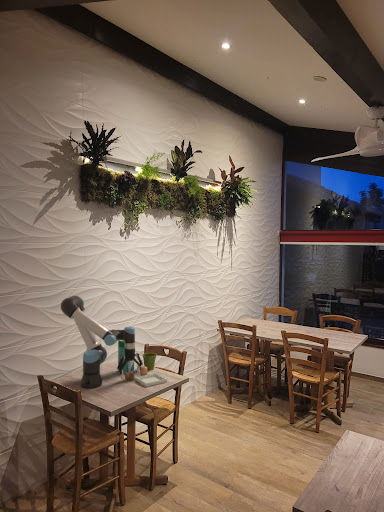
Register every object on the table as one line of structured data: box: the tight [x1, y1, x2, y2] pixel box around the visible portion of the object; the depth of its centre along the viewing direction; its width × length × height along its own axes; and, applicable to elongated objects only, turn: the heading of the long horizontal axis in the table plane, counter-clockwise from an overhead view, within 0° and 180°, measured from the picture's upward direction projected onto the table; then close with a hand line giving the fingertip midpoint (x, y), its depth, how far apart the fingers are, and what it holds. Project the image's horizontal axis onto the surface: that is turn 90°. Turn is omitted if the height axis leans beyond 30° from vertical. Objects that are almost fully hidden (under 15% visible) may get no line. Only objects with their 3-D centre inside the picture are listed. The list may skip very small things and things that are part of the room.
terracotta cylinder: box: [140, 365, 148, 376], centre depth 306 cm, size 5×5×7 cm
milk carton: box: [117, 340, 135, 374], centre depth 318 cm, size 9×9×25 cm
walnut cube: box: [124, 371, 135, 382], centre depth 299 cm, size 5×5×5 cm
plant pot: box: [141, 352, 158, 371], centre depth 325 cm, size 12×12×11 cm
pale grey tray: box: [135, 372, 168, 388], centre depth 296 cm, size 17×15×2 cm
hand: (130, 376), depth 299 cm, fingers open, 13 cm apart
